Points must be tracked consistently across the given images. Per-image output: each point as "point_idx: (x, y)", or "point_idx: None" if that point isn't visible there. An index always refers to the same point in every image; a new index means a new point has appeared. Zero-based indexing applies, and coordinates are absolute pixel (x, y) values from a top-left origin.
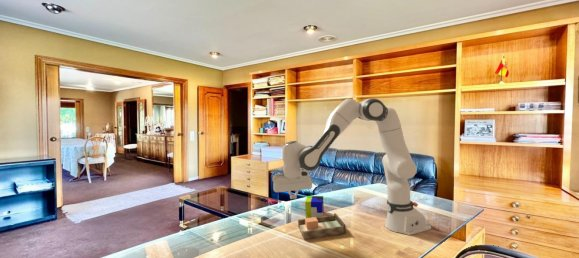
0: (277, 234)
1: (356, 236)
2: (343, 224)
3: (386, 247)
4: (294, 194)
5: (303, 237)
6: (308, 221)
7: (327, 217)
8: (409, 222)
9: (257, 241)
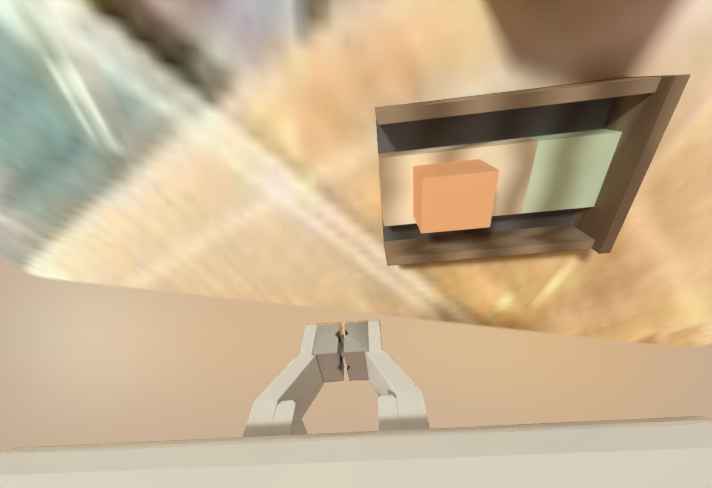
0: (262, 184)
1: None
2: (603, 248)
3: (634, 321)
4: (361, 355)
5: (384, 243)
6: (432, 225)
7: (592, 99)
8: None
9: (185, 231)
